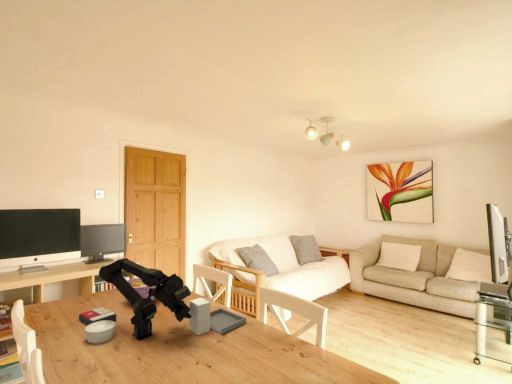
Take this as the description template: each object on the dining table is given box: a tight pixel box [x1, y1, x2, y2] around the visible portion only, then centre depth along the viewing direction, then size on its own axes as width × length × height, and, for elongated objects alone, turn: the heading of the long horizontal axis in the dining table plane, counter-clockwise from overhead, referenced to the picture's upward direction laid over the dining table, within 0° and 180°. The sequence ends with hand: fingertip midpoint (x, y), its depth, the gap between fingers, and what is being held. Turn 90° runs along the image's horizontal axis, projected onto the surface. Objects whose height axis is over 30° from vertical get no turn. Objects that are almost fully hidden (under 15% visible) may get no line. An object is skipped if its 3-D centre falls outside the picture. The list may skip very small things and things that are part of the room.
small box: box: [188, 297, 211, 336], centre depth 126 cm, size 8×6×13 cm
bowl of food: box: [126, 277, 156, 301], centre depth 158 cm, size 20×20×12 cm
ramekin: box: [84, 320, 116, 345], centre depth 118 cm, size 11×11×5 cm
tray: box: [210, 307, 247, 336], centre depth 134 cm, size 15×18×2 cm
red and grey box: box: [78, 306, 117, 327], centre depth 134 cm, size 11×4×15 cm
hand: (190, 317), depth 124 cm, fingers closed
